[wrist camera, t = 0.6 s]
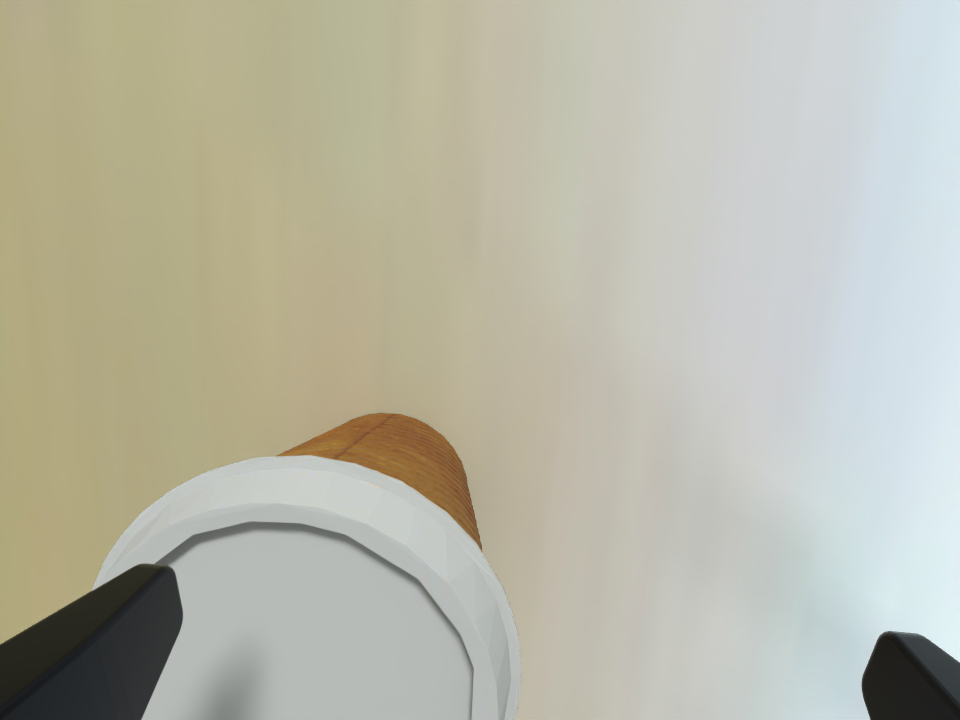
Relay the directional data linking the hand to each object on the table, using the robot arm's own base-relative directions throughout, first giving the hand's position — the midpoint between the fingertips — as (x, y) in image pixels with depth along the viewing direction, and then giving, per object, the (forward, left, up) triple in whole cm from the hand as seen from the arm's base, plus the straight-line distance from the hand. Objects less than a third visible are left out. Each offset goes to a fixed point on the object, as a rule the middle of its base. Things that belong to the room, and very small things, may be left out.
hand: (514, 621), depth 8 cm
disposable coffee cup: (-6, +2, -16) cm, 17 cm away
